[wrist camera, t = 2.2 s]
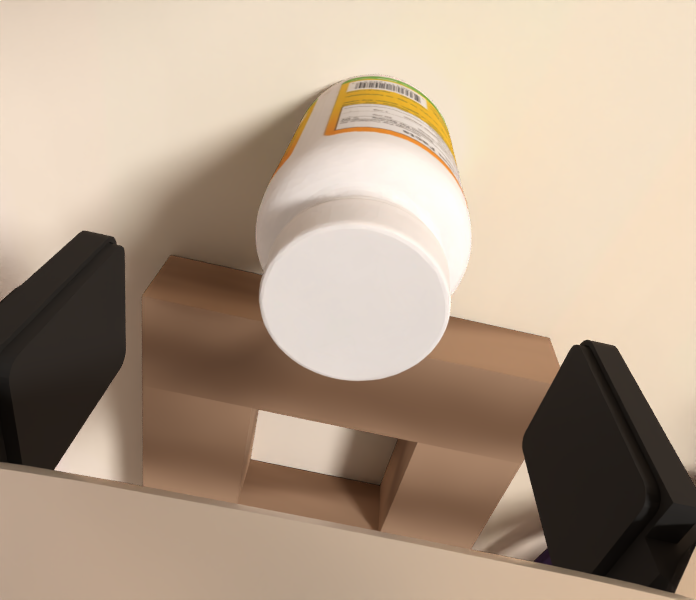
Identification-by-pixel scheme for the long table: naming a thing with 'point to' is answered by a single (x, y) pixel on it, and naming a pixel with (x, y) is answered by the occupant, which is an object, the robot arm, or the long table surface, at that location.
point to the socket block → (331, 412)
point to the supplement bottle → (363, 232)
